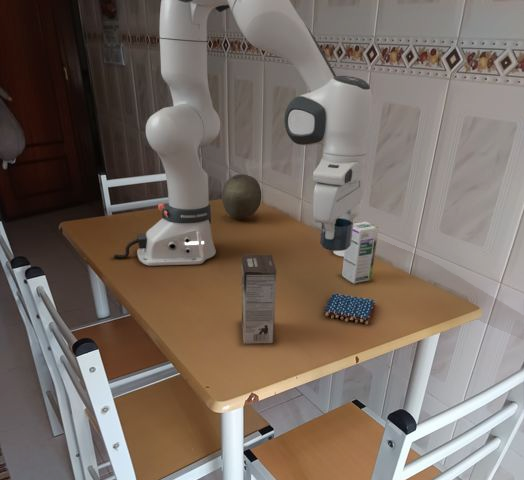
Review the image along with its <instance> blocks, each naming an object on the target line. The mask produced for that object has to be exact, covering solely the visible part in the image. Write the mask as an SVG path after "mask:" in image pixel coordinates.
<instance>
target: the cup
mask: <svg viewBox="0 0 524 480" xmlns="http://www.w3.org/2000/svg"><path fill="white" fill-rule="evenodd" d="M353 224H354V222H353V220H352V221H350V220H347V219H343V218H341V217H339V218H338V219H336V223H335V224H334V225H335V230H336V234H335V237H334V238H333V239H326V238H325V233H326V230H325V227H324V223H321V229H320V240H319V241H320V242H319V243H320V245H321V246H322V248H323V249H325V250H328V251H332V252H333V251H342V250H346V249H348V247H350V245H351V240H352V232H353Z"/></svg>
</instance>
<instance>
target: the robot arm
mask: <svg viewBox="0 0 524 480" xmlns="http://www.w3.org/2000/svg"><path fill="white" fill-rule="evenodd" d="M214 9H215V10H216V11H217V12H219V13H221V12H224V11H226V10H228V9H230V12H231V14H232V16H233V19H234V20H235V22H236V25H237V27H238V29H239V31H240V32H241V33H242V35H243V37H244V38H245V39H246V40H247V42H248V43H249V44H250V45H251V46H252V47H254V48H256V49H258V50H261V51H263V52H267V53H270V54H272V55H274V56H277V57H279V58H281V59H283V60H285V61H287V62H288V63H290V64H291V65H292V66H293V67H294V68H295V69H296V71H298V73H299V75H300V76H301V78H302V80H303V81H304V83H305V85H306V87H307V89H308V91H309V92H306V93H304V94H301V95H298V96H295V97H293V98H292V100H291V101H290V102H289V103H288V105H287V106H286V109H285V112H284V127H285V132H286V134H287V135H288V138H289V139H290V140H291V141H292V142H293V143H294V144H296V145H300V146H306V147H307V146H314V145H321V146H322V157H321V159H320V162H319V163H318V164H317V166H316V168H315V169H314V171H313V172H312V181H313V182H314V183H315V185H314V187H313V188H314V189H313V203H312V216H313V219H314V221H315V222H316V223H319V224H322V223H324V227H325V230H326V233H325V238H326V239H333V238H334V237H335V234H336V230H335V225H334V224H335V223H336V219H338V218H343V219H347V220H350V217H351V214H352V209H353V207H355V206H356V205H358V204H359V203H360V202H361V199H362V200H363V192H364V178H365V174H366V173H365V172H366V165H367V156H368V155H367V154H368V146H367V138H368V136H369V134H370V130H371V129H370V128H371V123H372V122H371V121H372V109H373V96H372V95H373V94H372V89H371V86H370V84H369V83H368V82H367V81H366V80H364V79H361V78H359V77H355V76H349V75H337V74H336V72H335V71H334V69H333V67H332V66H331V64H330V62H329V60H328V58H327V57H326V55H325V53H324V52H323V49H322V48H321V46H320V44H319V42H317V39H316V37H315V36H314V35H313V33H312V32H311V30H310V29H309V28H308V26H307V25H306V23H305V22H304V21H303V20H302V18H301V17H300V15H299V14H298V12H297V10H296V9H295V7H294V5H293V4H292V2H291V1H290V0H161V1H160V10H159V50H160V51H159V54H160V55H159V56H160V73H161V77H162V79H163V81H164V82H165V83H166V84H167V86H168V88H169V91H170V96H171V99H172V104H173V106H166V107H163V108H161V109H159V110H157V111H156V112H155V113H153V114H152V115H150V116H149V118H148V119H147V121H146V123H145V136H146V140H147V143H148V144H149V146H150V147H151V148H152V150H153V151H154V152H156V153H157V155H158V156H159V159H160V161H161V164H162V166H163V170H164V173H165V178H166V185H167V197H168V199H167V200H168V203H167V204H166V205H165V204H164V203H163V202H162V203H159V204H158V205H157V208H158V210H159V212H161V215H162V216H161V217H162V218H161V219H160V220H159V221H157V222H156V223H155V224H154V225H153V226H151V227H150V228H149V229H147V231H146V233H145V232H141V233H136V238H135V239H134V240H132V241H130V242H128V243H127V245H126V246H125V253H123V254H113V255H114V256H113V257H114V259H126V258H128V257H129V255H130V249H131V247H132V246H134V245H136V244H137V245H138V249H137V251H136V253H137V255H136V256H137V259H138V260H139V262H140V263H142V264H143V265H146V266H149V267H150V266H154V267H155V266H181V265H182V266H183V265H185V266H187V265H201V264H203V263H204V262H205V261H206V260H208V259H211V258H212V257H214V256H215V255H216V254H217V251H216V247H215V245H214V240H213V234H212V229H211V223H212V207H211V204H210V197H209V175H208V173H207V172H206V170H204V169H203V167H202V164H201V161H200V157H199V152H198V151H199V149H201V148H205V147H207V146H208V145H210V144H211V143H213V142H214V140H215V139H217V137H218V136H219V134H220V131H221V119H220V116H219V114H218V112H217V111H216V110H215V108H214V104H213V101H212V96H211V93H210V87H209V80H208V79H209V78H208V42H207V41H208V18H209V15H210V14H211V12H212V10H214Z"/></svg>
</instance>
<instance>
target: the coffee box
mask: <svg viewBox="0 0 524 480" xmlns="http://www.w3.org/2000/svg"><path fill="white" fill-rule="evenodd" d="M277 273H278V272H277V268H276V264H275V261H274V258H273V255H272V254H260V253H259V254H257V253H256V254H255V253H254V254H253V253H252V254H248V253H247V254H246V253H245V254H241V327H242V337H243V344H244V345H245V344H273V343H274V334H275V333H274V332H275V316H276V299H277V298H276V294H277V276H278V275H277Z"/></svg>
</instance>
